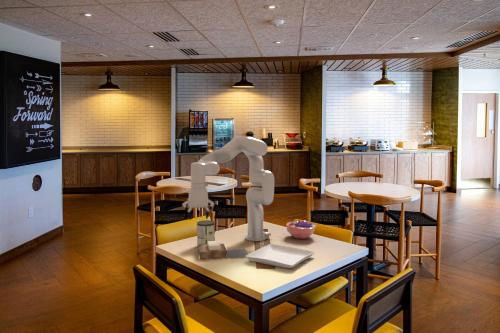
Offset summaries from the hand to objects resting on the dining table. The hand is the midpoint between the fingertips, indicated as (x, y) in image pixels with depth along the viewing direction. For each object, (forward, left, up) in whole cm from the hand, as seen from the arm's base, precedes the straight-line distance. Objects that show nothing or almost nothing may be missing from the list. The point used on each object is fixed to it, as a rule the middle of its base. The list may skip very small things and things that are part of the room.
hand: (198, 218), depth 226 cm
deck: (-7, 0, -20) cm, 21 cm away
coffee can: (-5, -17, -20) cm, 27 cm away
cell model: (-64, -26, -20) cm, 72 cm away
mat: (-21, 0, -20) cm, 29 cm away
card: (-8, 0, -16) cm, 18 cm away
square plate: (-41, +13, -21) cm, 48 cm away
